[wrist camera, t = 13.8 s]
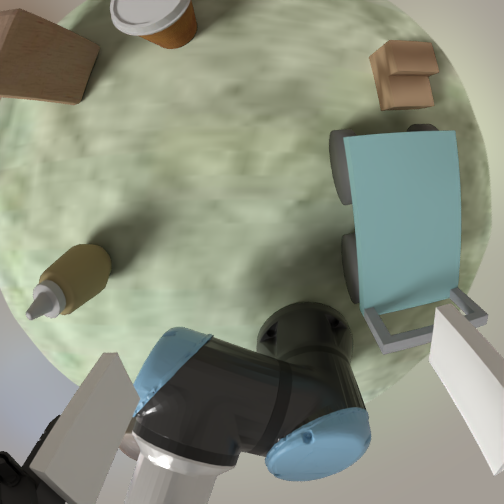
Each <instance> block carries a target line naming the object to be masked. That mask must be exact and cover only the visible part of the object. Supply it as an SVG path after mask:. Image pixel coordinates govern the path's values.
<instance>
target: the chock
mask: <svg viewBox="0 0 504 504" xmlns="http://www.w3.org/2000/svg"><path fill="white" fill-rule="evenodd" d="M369 59H370V63H371V67H372V71H373V75H374V79H375V84H376V88H377V93H378V98H379V103H380V108H381V111H386V110H409V109H422V108H427V107H432V106H434V101H433V96H432V91H431V86H430V82H429V78H428V77H429V76H431V75H434V74H437V73H439V69H438V65H437V61H436V57H435V53H434V50H433V46H432V43H428V42H417V41H401V40H389V41H388V42H386V43H385V44H384V45H383V46H381V47H380V48H379V49H378V50H377V51H375V52H374V53H373V54H372V55H371V56H370V57H369Z"/></svg>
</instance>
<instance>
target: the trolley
mask: <svg viewBox="0 0 504 504" xmlns="http://www.w3.org/2000/svg"><path fill="white" fill-rule="evenodd" d="M329 153H330V162H331V169H332V174H333V179H334V183H335V187H336V190H337V193H338V196H339V198H340V200H341V202H342V204H343V205H349V204H353V214H354V223H355V233H352V234H346V235H343V237H342V262H343V270H344V276H345V281H346V285H347V289H348V292H349V295H350V298H351V300H352V302H353V303H354V304H357V303H360V311H361V313H362V315H363V317H364V318H365V320H366V322H367V324H368V326H369V328H370V330H371V332H372V334H373V336H374V338H375V340H376V342H377V344H378V346H379V348H380V350H381V352H382V354H388V353H392V352H396V351H400V350H404V349H408V348H411V347H415V346H419V345H422V344H426V343H430V342H432V335H433V327H434V325H431V326H427V327H423V328H419V329H415V330H412V331H408V332H404V333H399V334H395V335H390V333H389V331H388V330H387V328H386V326H385V325H384V323H383V321H382V320H381V318H380V316H379V315H381V314H385V313H390V312H394V311H399V310H403V309H407V308H412V307H416V306H420V305H424V304H428V303H432V302H436V301H440V300H444V299H448V298H450V299H451V300H452V301H453V302H454V303H455V304H456V305H457V306H458V307H459V308H460V309H461V310H462V311H463V312H465V314H466V315H465V316H464V317H465V318H466V319H467V320H468V321H469V322H470V323H471V324H472V325H473V326H474V327H475V328H477V327H480V326H483V325H485V324H487V319H488V314H487V313H486V312H485V311H484V310H483V309H481V308H480V307H479V306H478V305H477V304H476V303H475V302H474V301H473V300H471V299H470V298H469V297H468V296H467V295H466V294H465V293H464V292H462V291H461V290H460V289H459V288H458V280H459V267H460V249H461V191H460V173H459V160H458V150H457V141H456V133H455V131H439V130H438V129H437V128H436V127H435V126H433V125H431V124H414V125H411V126H410V127H409V128H408V130H407V132H400V133H385V134H372V135H361V136H356V134H355V133H354V131H353V130H351V129H342V130H333V131H331V133H330V138H329Z"/></svg>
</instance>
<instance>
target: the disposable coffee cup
mask: <svg viewBox="0 0 504 504" xmlns="http://www.w3.org/2000/svg"><path fill="white" fill-rule="evenodd" d="M110 13H111V19H112V22H113V24H114V25H115V27H116V28H117V29H118V30H120V31H121V32H123V33H126V34H129V35H134V36H140V37H142V38H144V39H146V40H149V41H151V42H153V43H155V44H157V45H159V46H161V47H163V48H167V49H175V48H179V47H182V46H184V45H186V44H187V43H188V42H190V40H191V39H192V38H193V37H194V35H195V33H196V31H197V22H196V18H195V14H194V9H193V5H192V1H191V0H111V3H110Z"/></svg>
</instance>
